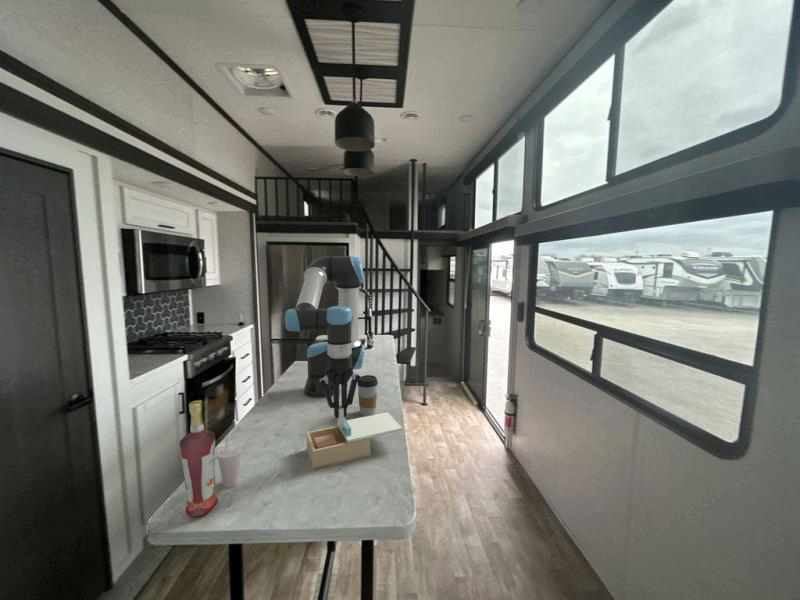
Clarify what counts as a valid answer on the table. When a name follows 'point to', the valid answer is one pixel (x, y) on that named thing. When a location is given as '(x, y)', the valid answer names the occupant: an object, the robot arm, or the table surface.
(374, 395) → the coffee cup
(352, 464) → the table surface
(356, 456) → the box
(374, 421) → the lid
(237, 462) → the smoothie
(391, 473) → the table surface
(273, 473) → the table surface
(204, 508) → the liquor
